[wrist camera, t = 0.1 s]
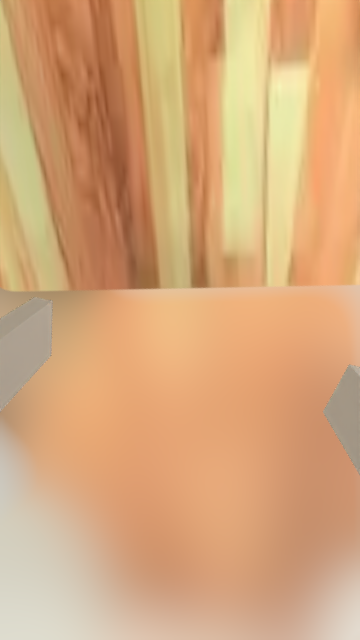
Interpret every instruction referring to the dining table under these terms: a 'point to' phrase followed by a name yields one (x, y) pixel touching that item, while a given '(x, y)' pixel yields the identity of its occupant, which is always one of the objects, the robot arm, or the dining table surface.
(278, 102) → the dining table surface
